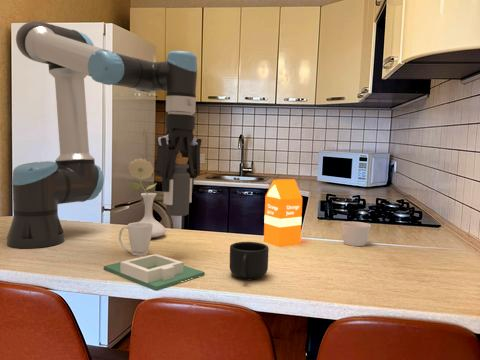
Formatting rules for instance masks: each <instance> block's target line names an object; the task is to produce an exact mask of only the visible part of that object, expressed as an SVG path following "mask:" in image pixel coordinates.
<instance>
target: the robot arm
mask: <svg viewBox="0 0 480 360" xmlns="http://www.w3.org/2000/svg"><path fill="white" fill-rule="evenodd" d="M15 43H16V45H17V48H18V51H19V52H20V53H21V54H22V55H23V56H24V57H26V58H28V60H31V61H34V62H37V63H41V64H47V66H48V73H49V74H50V75H51V76H52V77H53V78H54V84H55V85H54V86H55V87H54V88H55V98H56V99H55V100H56V102H55V103H56V114H57V130H58V131H57V132H58V143H59V156H58V157H57V158H56V159H55V160H54V161H49V160H48V161H39V162H38V161H35V162H34V161H33V162H27V163H24V164H20V165H17V166H16V167H15V168H14V169H13V171H12V180H11V184H12V209H13V210H12V211H13V217H12V218H13V219H12V221H11V224H10V226H9V230H8V232H7V237H6V245H7V246H8V247H11V248H16V249H17V248H18V249H38V248H46V247H51V246H56V245H59V244H61V243H63V242H64V241H65V232H64V229H63V226H62V223H61V221H60V218H59V215H58V205H63V204H70V203H78V202H79V203H83V202H86V201H91V200H94V199H96V198H97V197H98V196H99V194H100V193H101V192H102V190H103V187H104V180H105V179H104V178H105V176H104V171H103V170H102V168H101V167H100V166H99V165H97V164H96V163H95V158H94V157H93V156H92V155H91V154H90V149H89V148H90V147H89V135H88V134H89V133H88V118H87V115H88V114H87V105H86V103H87V102H86V101H87V100H86V91H85V86H86V85H85V78H86V77H87V76H88V77H91V79H92V80H93V81H95V82H97V83H100V84H102V85H103V84H104V85H108V86H118V87H124V88H130V89H134V90H136V91H139V92H147V93H150V92H165V93H166V95H165V96H166V97H165V112H166V113H167V114H166V115H165V123H164V124H165V126H164V127H165V129H166V133H165V135H164V136H157V137H156V138H155V141H156V145H157V147H156V148H157V150H156V163H155V165H156V166H155V176H156V177H159V178H160V179H161V191H162V192H163V202H162V203H163V204H164V205H166V204H167V205H173V179H170V178H171V175H172V171H173V168H174V164H175V160H176V157H178V155H179V153H180V154H181V157H188V161H187V164H189V168H187V170H186V171H187V173H189V174H190V189H189V204H190V203H192V195H193V194H192V193H193V189H194V185H195V184H194V183H195V182H194V181H195V179H196V178H197V177H198V176H200V174H201V145H202V139H201V138H197V137H195V136H194V135H195V134H194V132H193V131H194V130H195V129H196V128H195V127H196V117H195V115H194V114H195V113H196V103H197V102H196V101H197V99H196V98H197V96H196V95H197V94H196V92H197V81H198V80H197V77H198V61H197V56H196V54H195V53H193V52H190V51H186V50H172V51H168V52H167V58H166V61H150V60H145V59H142V58H136V57H133V56H129V55H125V54H121V53H117V52H114V51H110V50H107V49H104V48H101V47H97V46H95V45H94V42H93V41H92V39H91V38H90V37H89V36H88V35H87V34H85V33H83V32H81V31H77V30H75V29H70V28H67V27H62V26H58V25H55V24H51V23H48V22H45V21H29V22H27V23H24V24H22V26H20V27H19V28H18V31H17V33H16V35H15Z"/></svg>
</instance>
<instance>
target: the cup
mask: <svg viewBox="0 0 480 360" xmlns="http://www.w3.org/2000/svg"><path fill="white" fill-rule="evenodd" d="M152 227H153V224H152V223H148V222H139V221H137V222H130V223H128V224H127V226H123V227H121V228H120V230H119V233H118V242H119V243H120V245H121V246H122V247H123V248H124V249H125V250H126V251H127V252H129V253H131V255H132V256H133V255H134V256H147V255H148V254H149V251H148V250H149V248H150V244H151V239H152V238H151V233H152ZM124 229H127V231H128V238H129V245H130V248H128V246H126V245H125V244H124V242H123V240H122V234H123V233H122V232H123V231H124Z"/></svg>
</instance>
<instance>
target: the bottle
mask: <svg viewBox="0 0 480 360" xmlns="http://www.w3.org/2000/svg"><path fill="white" fill-rule="evenodd" d="M187 161H188V157H182V156H176V160H175V164H174V168H173V171H172V175H171V178H170V179H173V205H167V204H165V205H166V211H165V212H166V215H168V216H174V217H183V216H187V215H189V214H190V213H189V211H190V210H189V209H190V203H189V189H190V174H189V173H187V171H186V170H187V168H189V164H187Z"/></svg>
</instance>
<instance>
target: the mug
mask: <svg viewBox="0 0 480 360" xmlns="http://www.w3.org/2000/svg"><path fill="white" fill-rule="evenodd" d="M269 249H270V248H269V246H268V245H267V244H265V243H261V242H257V241H255V242H254V241H239V242H234V243H231V244H230V245H229V271H230V272H231V274H232V275H233V276H235V277H237V278H238V279H241V278H242V280H248V279H251V280H257V279H259V278H262V277H264V276H265V275H266V274H267V272H268V269H269V252H270V251H269Z"/></svg>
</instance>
